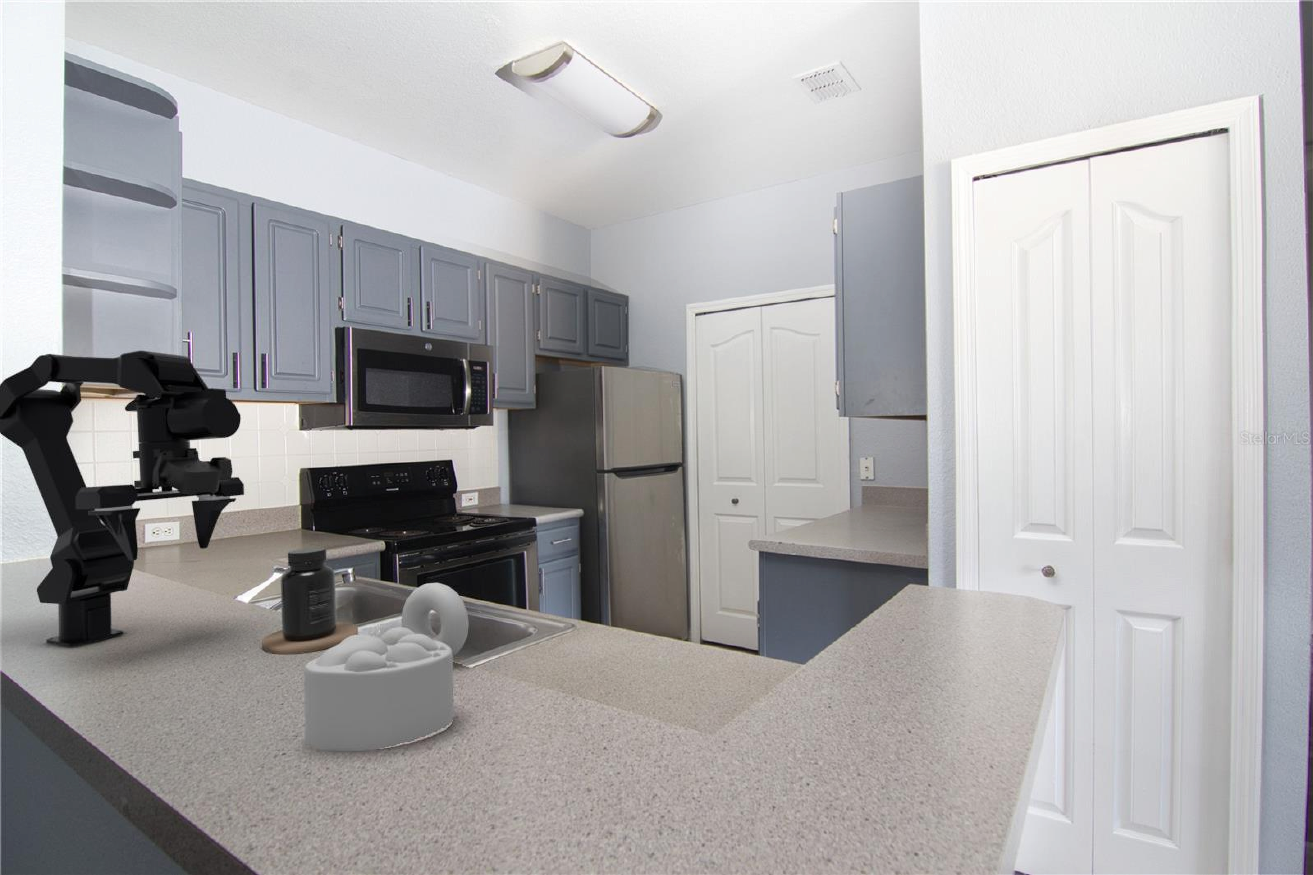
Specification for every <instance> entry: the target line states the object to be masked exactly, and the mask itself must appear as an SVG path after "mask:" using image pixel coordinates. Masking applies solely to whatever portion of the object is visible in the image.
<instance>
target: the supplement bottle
mask: <svg viewBox="0 0 1313 875" xmlns="http://www.w3.org/2000/svg"><path fill="white" fill-rule="evenodd" d="M327 561H328V557H327V549H326V548H325V547H311V548H310V547H308V548H300V549H295V550H291V551H288V552H287V566H288V567H289V569H288V570H286V571H285V572H284V573H283V574H282V576H281V578H280V605H281V606H280V607H281V608H280V609H281V630H282V633H283V637H284V638H285V639H286V640H289V641H305V640H312V639H317V638H321V637H324V636H327V635H330V634H331V633H333V632H334V631H335V630H336V627H337V622H338V621H337V597H336V596H337V595H336V574H335V571H334V570H333V568H331V567H330V566H328V565H326V562H327Z"/></svg>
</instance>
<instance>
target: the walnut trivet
mask: <svg viewBox="0 0 1313 875" xmlns="http://www.w3.org/2000/svg"><path fill="white" fill-rule="evenodd" d="M358 634H359V628H358V626H357V625H356V624H354V623H350V622H342V621H340V622H339V621H337V627H336V630H335V631H334V632H333V633H331V634H330V635H327V636H324V637H321V638H317V639H312V640H305V641H289V640H286V639H285V638H284V637H283V633H282V629H281V630H280V629H279V630H278V631H275V632H272V633H270V634H268V635H266V636H265V637H264V638H263V639H262V640H261V648H262V651H265V652H266V653H268V654H269V653H270V654H275V655H276V654H279V655H291V654H292V655H294V654H308V653H314V652H319V651H323V650H324V651H326V650H328V649H330V648H332V647H334V646H336V645H338V644H340V643H341V642H342V641H343V640H344V639H345V638H347V637H349V636H352V635H358Z"/></svg>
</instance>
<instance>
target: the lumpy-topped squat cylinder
mask: <svg viewBox="0 0 1313 875" xmlns="http://www.w3.org/2000/svg"><path fill="white" fill-rule="evenodd" d="M453 658H454V656H453V654H452V650H451V648H450V647H449V646H447V645H446V644H444V643H442V642H439V641H435V640H432V639H431V638H430V637H428V636H426V635H423V634H415V633H414V632H413V631H411V630H409V629H407V628H404V627H402V626H396V627H392V628H390V629H387V630H386V631H385V632H384V633H383V634H382V635H381V637H376V636H373V635H368V634H361V633H360V634H359V633H358V635H352V636H349V637H347V638H345V639H344V640H343V641H342V642H341V643H340V644H338V645H336V646H334V647H332V648H329V649H325V650H324V652H323V653H322V654H321V655H320V656H319V657H316V658H314V659H312V660H310V661H309V662H307V663H306V664H305V666H304V670H303V671H304V675H303V676H304V682H303V683H304V687H303V688H304V739H305V740H304V743H305V745H306V746H307V747H308V746H309V748H311V749H314V750H319V751H333V752H335V751H338V752H358V751H359V752H365V751H367V750H369V751H377V750H376V749H380V748H385V747H389V746H395V745H397V744H400V743H404V742H411V741H414V740H415V739H418V738H420V737H425V736H426V735H429V734H431V733H432V732H437V731H438V730H440V729H441V728H445V727H446V726H447V725H449V723H451V722H452V720H453V718H454V665H453V664H454V663H453V662H454V661H453V660H454V659H453ZM373 749H375V750H373ZM367 752H368V751H367Z"/></svg>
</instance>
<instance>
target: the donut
mask: <svg viewBox="0 0 1313 875" xmlns="http://www.w3.org/2000/svg"><path fill="white" fill-rule="evenodd" d="M432 610H433V611H434V612H435V613H436V614H437V616H438V618H439V620H440V631H439V633H438V634H437V633H436V632H434V630H433V629H432V627H431V624H430V613H431V611H432ZM469 623H470V622H469V617H468V610H467V608H466V606H465V603H464V601H463V599H462V598H461V597H460V595H459V593H458V592H457V591H455V590H454V589H453V588H452V587H450V586H448V585H446V584H443V583H440V582H430V583H429V582H427V583H425V584H422V585H420V586H418V587H417V588H416V589H414V590H413V591H412V592H411V594H410V595H409V596H408V597H407V599H406V601H405V602H404V606H403V608H402V614H401V627H404V628H407V629H409V630H411V631H413V632H414V633H415V634H423V635H426V636H428V637H430V638H431V639H432V640H435V641H439V642H442V643H444V644H446V645H447V646H449V647H450V648H451V650H452V654H453V657H455V656H456V655H457V654H458V653H459V652H460V651H461V649H462V648H463V647H464V644H465V642H466V640H467V637H468V633H469Z"/></svg>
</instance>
